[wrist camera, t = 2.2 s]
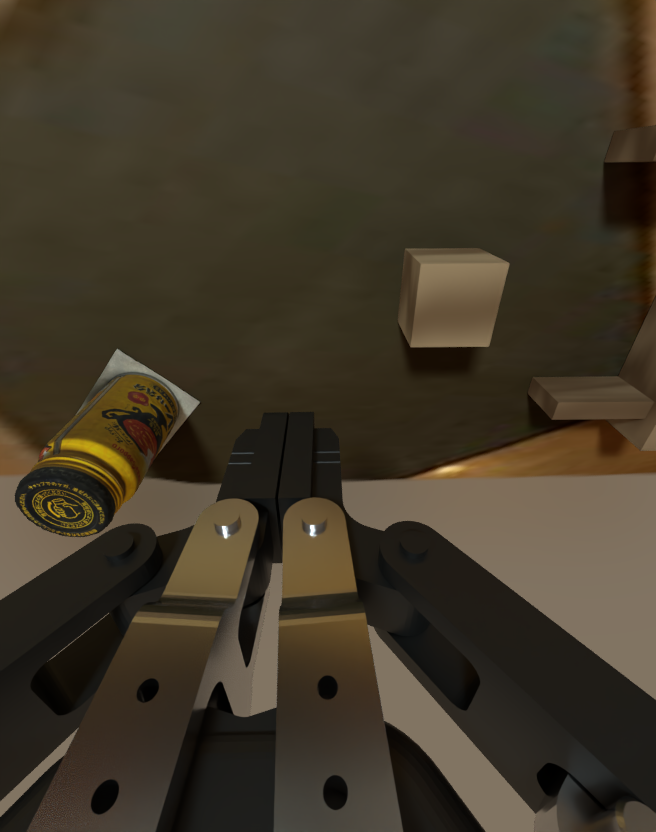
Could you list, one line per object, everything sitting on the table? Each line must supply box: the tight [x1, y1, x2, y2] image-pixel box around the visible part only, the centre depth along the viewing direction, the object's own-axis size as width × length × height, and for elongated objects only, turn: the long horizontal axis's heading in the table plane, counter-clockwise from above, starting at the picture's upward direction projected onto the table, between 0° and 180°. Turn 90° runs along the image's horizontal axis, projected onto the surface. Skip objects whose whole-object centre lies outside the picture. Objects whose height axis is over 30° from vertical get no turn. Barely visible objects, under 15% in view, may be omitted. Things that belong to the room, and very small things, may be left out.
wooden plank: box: [528, 125, 656, 451], centre depth 24 cm, size 22×9×5 cm, turn 0°
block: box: [398, 248, 509, 347], centre depth 24 cm, size 5×5×5 cm
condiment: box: [15, 349, 200, 537], centre depth 27 cm, size 7×8×12 cm
